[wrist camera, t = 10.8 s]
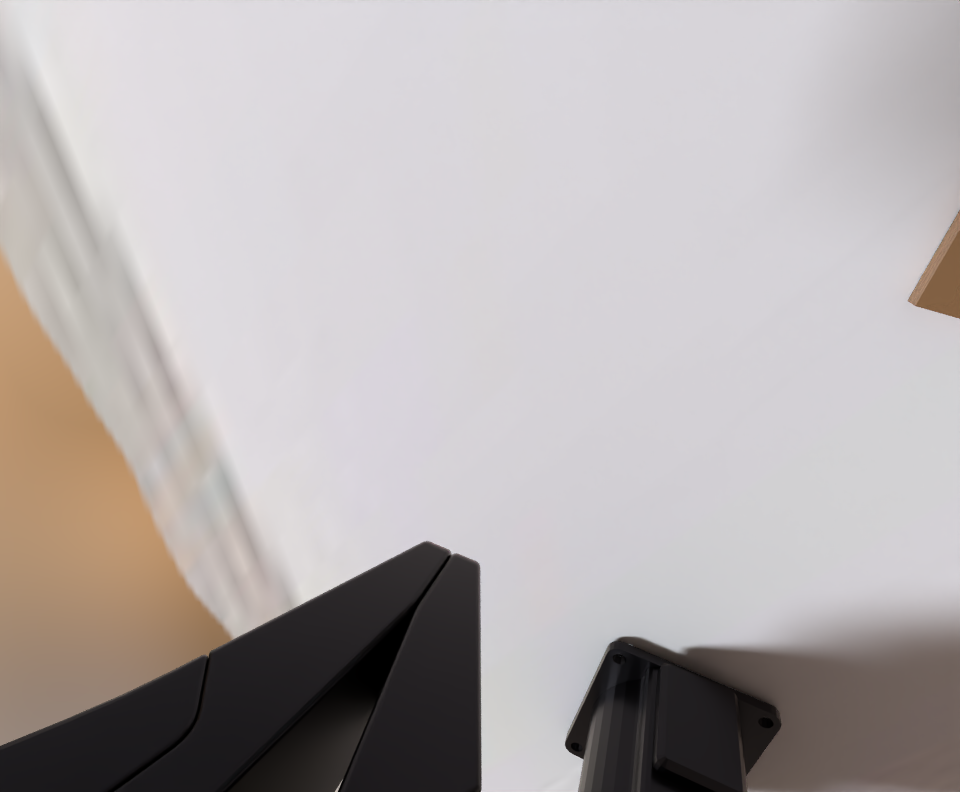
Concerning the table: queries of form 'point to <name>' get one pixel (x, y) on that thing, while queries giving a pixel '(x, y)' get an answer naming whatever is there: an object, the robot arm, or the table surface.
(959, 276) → the brown square base plate
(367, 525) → the table surface
